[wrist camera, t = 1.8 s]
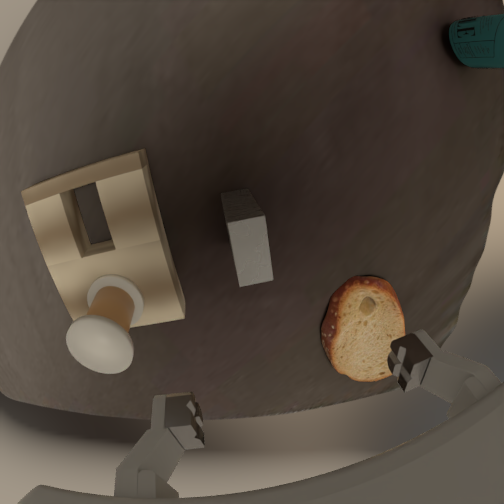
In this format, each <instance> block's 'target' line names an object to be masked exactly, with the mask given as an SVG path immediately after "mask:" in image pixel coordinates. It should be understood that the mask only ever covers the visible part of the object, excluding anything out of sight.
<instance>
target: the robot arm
mask: <svg viewBox="0 0 504 504" xmlns="http://www.w3.org/2000/svg"><path fill="white" fill-rule="evenodd" d="M390 348H391V352H390V353H389V354H388V358H387V362H388V367H389V370H390V371H391V373H392V375H395V376H397V377H398V380H397V382H398V384H399V385H400V387H401V388H402V390H403V391H404V392H407V391H409V390H411V389H414V388H416V387H418V386H421V387H422V388H424V389H426V390H427V391H429V392H431V393H433V394H435V395H437V396H438V397H440V398H442V399H444V400H446V401H447V402H449V403H451V404H452V405H451V407H450V408H449V410H448V412H447V416H448V418H449V419H448V420H447V421H445V422H443V423H441V424H440V425H438V426H436V427H434V428H432V429H431V430H429V431H427V432H425V433H423V434H421V435H419V436H417V437H416V438H413V439H411V440H409V441H407V442H405V443H403V444H401V445H399V446H397V447H394V448H392V449H390V450H388V451H385V452H383V453H381V454H378V455H376V456H374V457H371V458H368V459H366V460H363V461H361V462H358V463H355V464H352V465H350V466H347V467H344V468H341V469H338V470H335V471H332V472H328V473H326V474H322V475H318V476H315V477H311V478H308V479H304V480H301V481H296V482H293V483H288V484H284V485H279V486H275V487H270V488H265V489H259V490H253V491H247V492H241V493H234V494H226V495H217V496H207V497H193V498H192V497H191V498H179V494H178V492H177V491H176V490H175V489H173V488H172V487H171V486H170V485H169V484H167V481H168V480H169V478H170V476H171V475H172V473H173V471H174V469H175V467H176V466H177V464H178V462H179V460H180V458H181V457H182V455H183V453H184V450H187V449H195V448H203V447H205V440H204V433H203V431H202V429H201V427H202V425H203V417H202V412H201V409H200V406H199V404H198V403H197V402H195V396H194V394H193V392H185V393H176V394H166V395H155V396H154V398H153V407H152V420H151V429H150V430H147V431H146V432H145V433H144V435H143V436H142V437H141V439H140V440H139V441H138V442H137V444H136V445H135V446H134V448H133V449H132V450H131V451H130V452H129V454H128V455H127V456H126V458H125V459H124V460H123V461H122V462H121V464H120V465H119V466H118V467H117V469H116V478H115V490H114V496H105V495H96V494H88V493H82V492H75V491H70V490H64V489H59V488H54V487H50V486H46V485H39V486H37V487H35V488H34V489H32V490H31V491H30V492H29V493H28V494H27V495H26V496H25V497H24V498H23V499H21V500H20V501H19V502H18V504H504V382H503V383H501V382H500V381H499V379H498V378H497V377H496V376H495V375H494V374H493V372H492V371H491V370H490V369H489V368H488V367H487V366H486V365H483V364H481V363H478V362H475V361H472V360H469V359H467V358H464V357H461V356H458V355H455V354H453V353H450V352H447V351H444V352H443V351H442V350H441V349H440V348H439V347H438V346H437V344H436V343H435V342H434V341H433V340H432V339H431V338H430V337H429V335H428V334H427V333H426V332H425V331H424V330H422V329H421V330H418V331H416V332H413V333H410V334H408V335H405V336H403V337H400V338H398V339H395V340H393V341H392V342H391V344H390Z"/></svg>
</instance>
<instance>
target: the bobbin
mask: <svg viewBox="0 0 504 504" xmlns="http://www.w3.org/2000/svg"><path fill="white" fill-rule="evenodd" d="M87 302H88V306H89V310H88V312H87V314H86V315H84V316H81V317H78V318H77V319H75V320H74V321H73V322H72V324H71V326H70V328H69V330H68V332H67V335H66V342H67V346H68V349H69V350H70V352H71V354H72V355H73V356H74V358H75V359H76V360H77V361H78V362H80V363H81V364H82V365H84V366H85V367H87V368H89V369H91V370H93V371H96V372H100V373H105V374H114V373H119V372H122V371H124V370H125V369H127V368H128V367H129V366H130V364H131V362H132V359H133V354H134V345H133V341H132V339H131V337H130V335H129V334H128V332H129V328H130V326H131V325H133V324H135V323H136V322H137V321H138V320H139V319H140V317H141V315H142V312H143V308H144V298H143V295H142V293H141V291H140V289H139V288H138V286H137V285H136V284H135V283H134V282H132V281H131V280H130V279H128V278H126V277H124V276H121V275H117V274H106V275H102V276H100V277H98V278H97V279H96V280H95V281H94V282H93V283H92V285H91V287H90V289H89V291H88V294H87Z"/></svg>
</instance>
